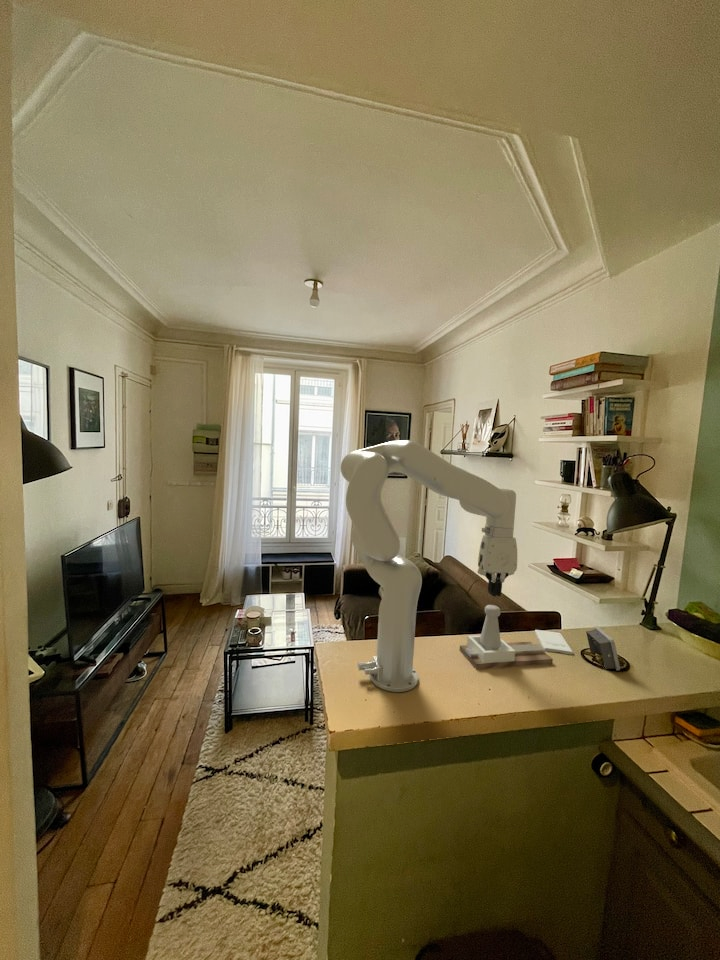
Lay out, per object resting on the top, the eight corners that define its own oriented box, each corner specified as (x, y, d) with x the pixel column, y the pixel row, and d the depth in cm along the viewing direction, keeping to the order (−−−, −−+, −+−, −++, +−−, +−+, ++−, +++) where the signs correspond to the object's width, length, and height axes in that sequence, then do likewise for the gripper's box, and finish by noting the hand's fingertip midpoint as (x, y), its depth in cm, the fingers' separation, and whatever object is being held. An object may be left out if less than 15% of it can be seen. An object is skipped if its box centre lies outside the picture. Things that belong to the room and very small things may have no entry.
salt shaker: (501, 648, 110) (504, 605, 109) (499, 657, 105) (503, 612, 104) (480, 642, 112) (483, 601, 111) (478, 651, 107) (481, 607, 106)
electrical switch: (621, 672, 105) (620, 640, 104) (601, 672, 105) (601, 640, 105) (602, 654, 114) (602, 625, 114) (584, 654, 115) (584, 625, 114)
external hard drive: (560, 637, 125) (573, 656, 113) (534, 634, 127) (544, 652, 115) (560, 633, 125) (573, 651, 113) (534, 629, 127) (544, 647, 115)
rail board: (476, 669, 102) (476, 664, 102) (459, 650, 112) (459, 645, 112) (552, 663, 107) (552, 658, 107) (529, 646, 117) (530, 641, 117)
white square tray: (483, 663, 103) (484, 652, 103) (466, 645, 112) (467, 635, 112) (514, 661, 105) (515, 650, 105) (495, 643, 114) (496, 634, 114)
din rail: (470, 657, 106) (471, 654, 105) (464, 651, 109) (465, 647, 109) (544, 652, 110) (545, 649, 110) (537, 646, 114) (537, 643, 114)
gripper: (481, 534, 101) (476, 600, 102) (531, 535, 104) (525, 598, 105) (468, 529, 108) (464, 590, 110) (515, 529, 111) (510, 589, 113)
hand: (494, 594), depth 107 cm, fingers closed
